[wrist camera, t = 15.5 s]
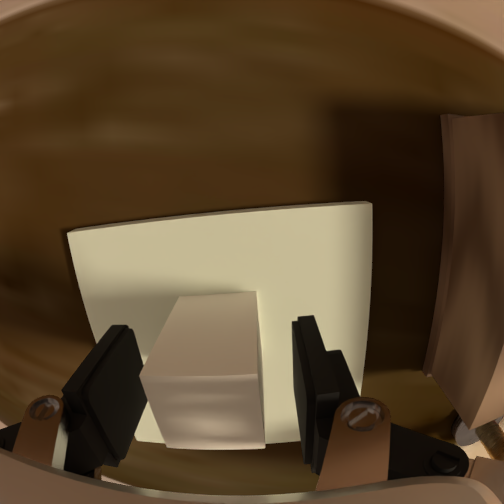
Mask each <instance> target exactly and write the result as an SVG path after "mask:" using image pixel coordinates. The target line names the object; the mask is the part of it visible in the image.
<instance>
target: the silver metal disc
mask: <svg viewBox="0 0 504 504" xmlns="http://www.w3.org/2000/svg"><path fill="white" fill-rule="evenodd" d="M503 416H504V415H503ZM503 416H501V417H499V418H497V419H495V421H496V422H497V424H498V423H499V422H500V421H501V419H502V418H503ZM476 428H477V427H476ZM476 428H474V429H471V430H468V428H467V426H466V425H465V423H464V422H463V420H462V419H461V417H460V416H459V415H458V416H457V418H456V419H455V421H454V423H453V425H452V429H451V433H452V435H453V437H454V438H455V440H456V442H457V443H458V445H460V446H467V445H470V444H473V443H475V442H477V441H479V438H478V437H477V435H476V434H475V430H476Z"/></svg>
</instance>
